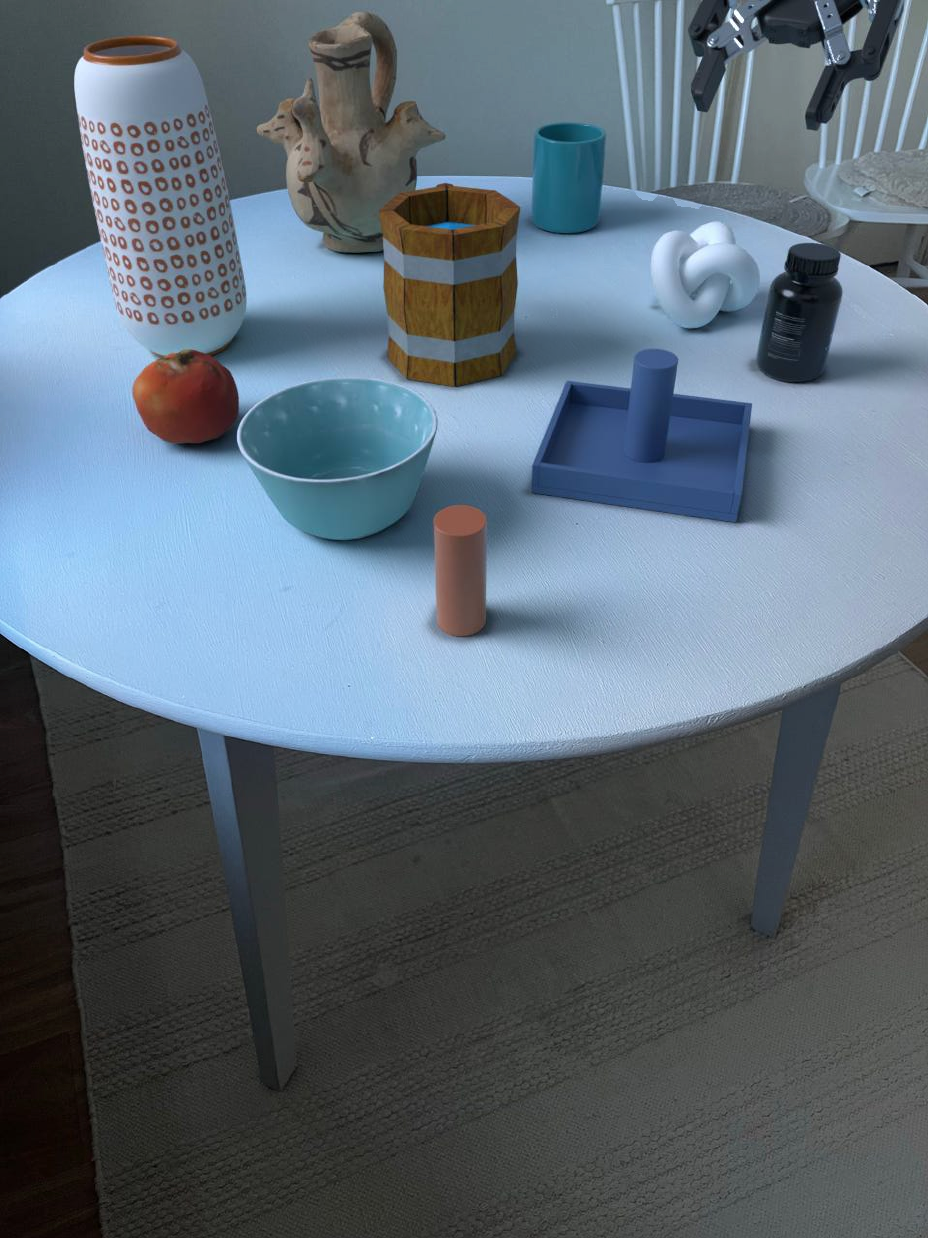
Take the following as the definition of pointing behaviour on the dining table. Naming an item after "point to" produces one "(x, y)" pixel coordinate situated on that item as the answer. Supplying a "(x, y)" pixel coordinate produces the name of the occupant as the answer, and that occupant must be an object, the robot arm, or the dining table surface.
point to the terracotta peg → (460, 569)
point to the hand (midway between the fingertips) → (754, 114)
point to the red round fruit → (186, 397)
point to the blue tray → (677, 483)
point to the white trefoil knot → (702, 274)
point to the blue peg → (650, 404)
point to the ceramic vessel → (349, 136)
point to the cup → (567, 176)
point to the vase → (160, 195)
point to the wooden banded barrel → (450, 283)
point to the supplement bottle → (801, 314)
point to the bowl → (340, 453)
